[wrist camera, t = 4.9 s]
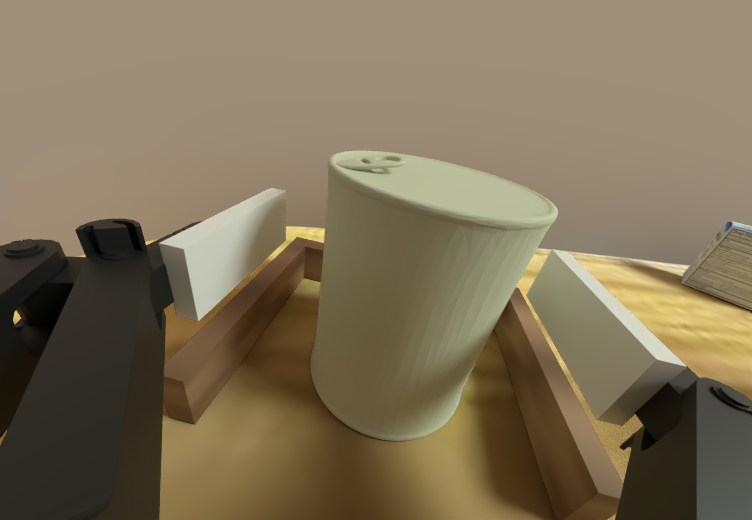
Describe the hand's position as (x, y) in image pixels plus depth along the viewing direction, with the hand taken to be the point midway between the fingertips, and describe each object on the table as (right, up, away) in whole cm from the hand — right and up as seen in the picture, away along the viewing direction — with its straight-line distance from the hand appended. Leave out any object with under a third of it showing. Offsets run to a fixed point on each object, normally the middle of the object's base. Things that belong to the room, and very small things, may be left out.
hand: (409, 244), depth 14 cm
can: (-1, -7, +3) cm, 8 cm away
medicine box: (+43, -6, +22) cm, 49 cm away
